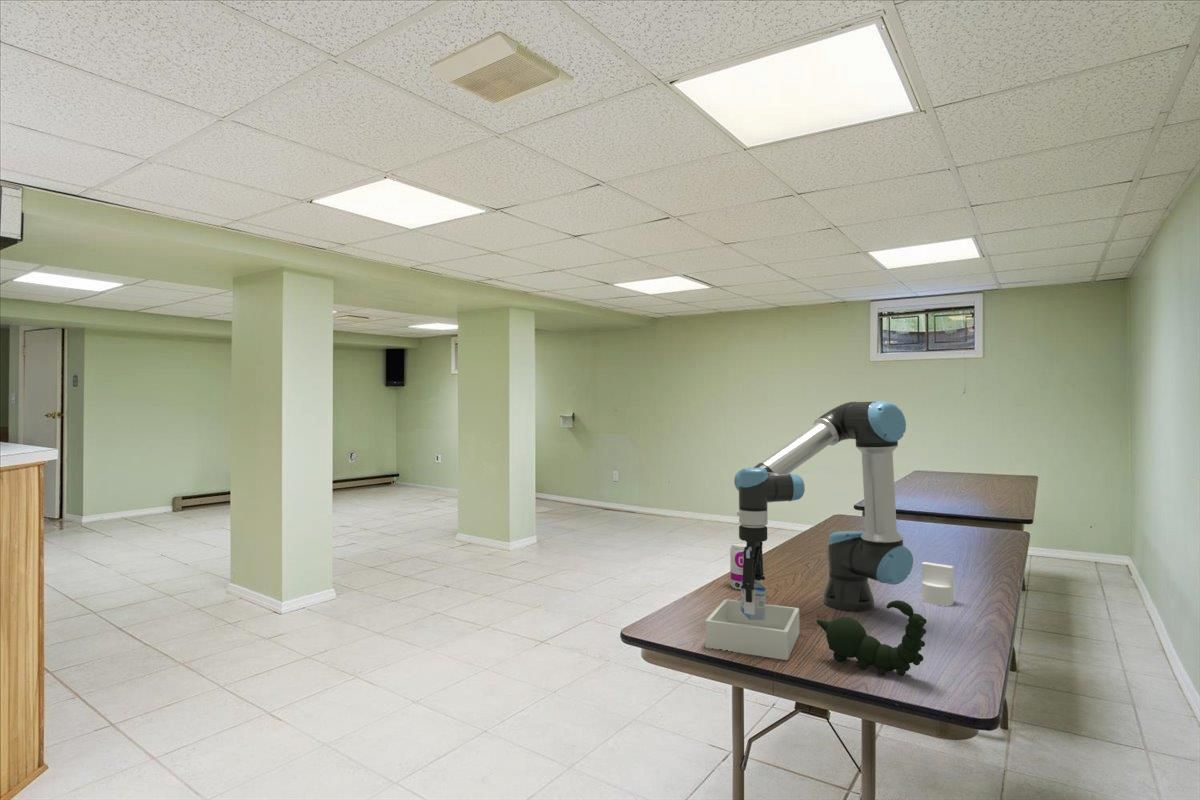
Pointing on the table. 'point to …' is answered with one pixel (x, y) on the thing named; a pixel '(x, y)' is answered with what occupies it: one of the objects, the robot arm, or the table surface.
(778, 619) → the open bin
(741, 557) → the supplement can
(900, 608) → the toy figurine
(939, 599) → the cylinder with rectangular tab
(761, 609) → the medicine box
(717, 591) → the table surface
